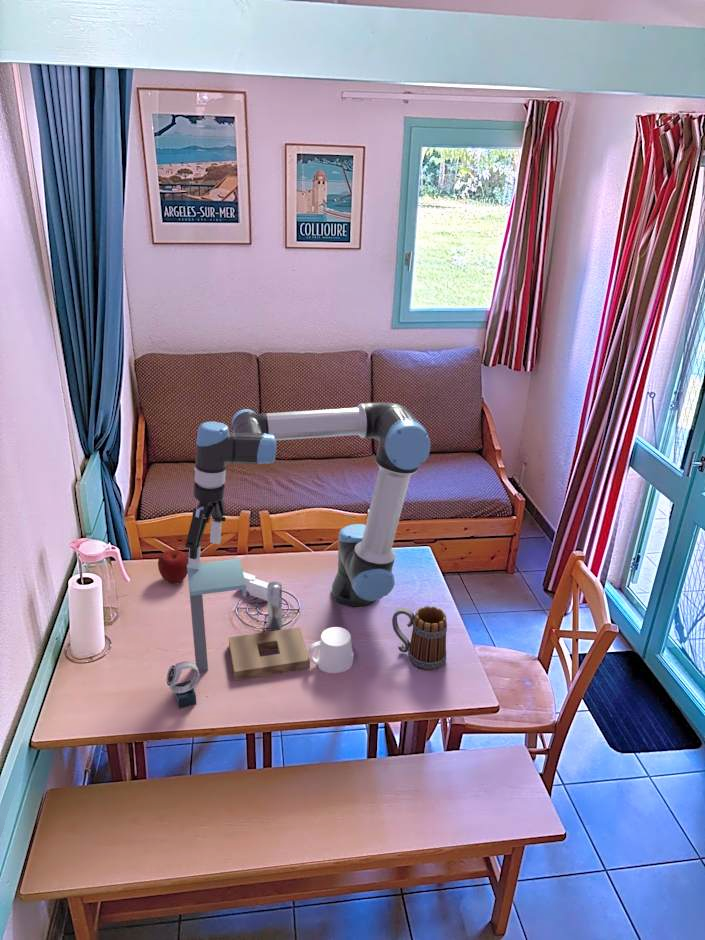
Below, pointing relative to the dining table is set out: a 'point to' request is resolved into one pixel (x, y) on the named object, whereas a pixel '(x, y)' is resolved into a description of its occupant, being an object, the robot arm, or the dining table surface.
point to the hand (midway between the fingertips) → (204, 555)
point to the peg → (274, 605)
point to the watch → (183, 684)
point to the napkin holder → (256, 586)
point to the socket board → (253, 665)
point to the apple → (173, 566)
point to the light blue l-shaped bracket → (204, 582)
